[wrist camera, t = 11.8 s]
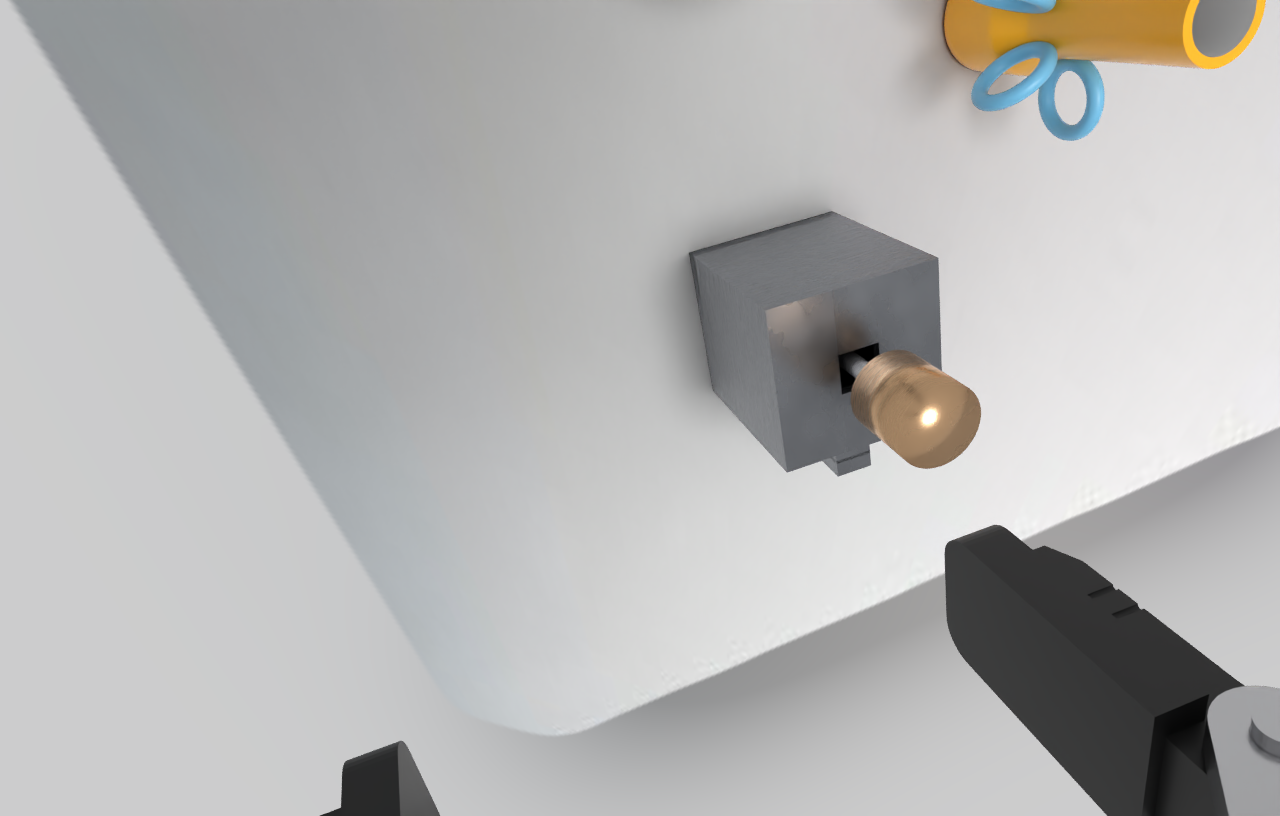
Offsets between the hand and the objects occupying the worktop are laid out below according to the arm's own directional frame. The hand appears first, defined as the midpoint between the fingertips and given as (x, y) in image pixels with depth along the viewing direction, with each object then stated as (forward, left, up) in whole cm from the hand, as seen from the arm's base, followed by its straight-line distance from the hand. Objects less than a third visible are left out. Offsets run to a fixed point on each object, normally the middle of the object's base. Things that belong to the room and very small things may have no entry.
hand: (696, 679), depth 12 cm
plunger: (+11, +16, -34) cm, 39 cm away
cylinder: (-2, +31, -36) cm, 48 cm away
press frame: (+12, +16, -36) cm, 41 cm away
